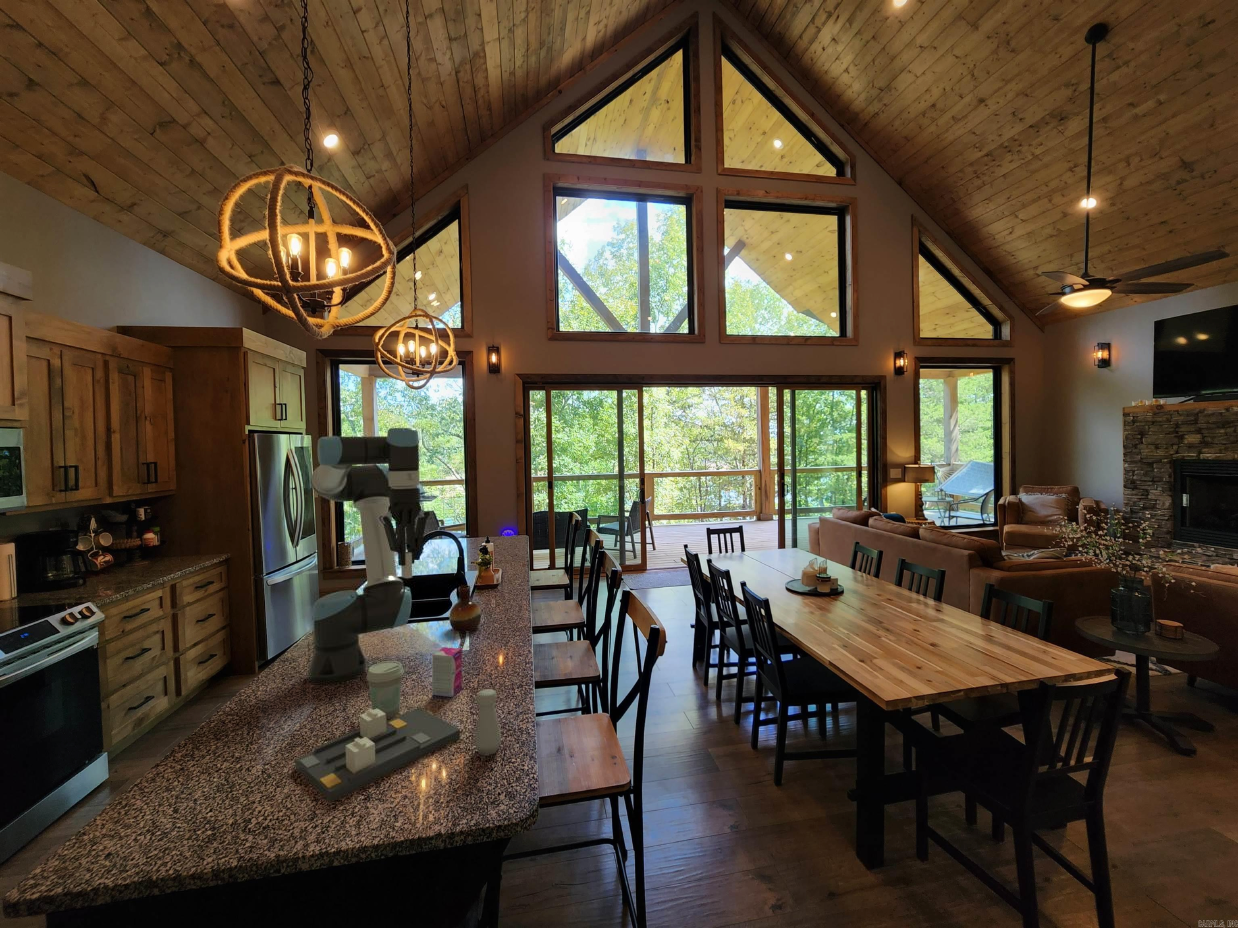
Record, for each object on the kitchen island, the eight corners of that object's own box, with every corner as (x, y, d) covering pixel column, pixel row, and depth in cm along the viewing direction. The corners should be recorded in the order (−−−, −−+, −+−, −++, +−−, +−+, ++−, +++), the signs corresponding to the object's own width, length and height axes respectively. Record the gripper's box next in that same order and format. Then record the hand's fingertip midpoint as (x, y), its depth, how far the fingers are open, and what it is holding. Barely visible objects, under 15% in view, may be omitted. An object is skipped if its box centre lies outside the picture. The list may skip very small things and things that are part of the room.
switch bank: (295, 768, 111) (295, 755, 111) (420, 714, 132) (419, 703, 132) (330, 802, 100) (330, 787, 100) (460, 738, 122) (459, 725, 121)
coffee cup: (368, 726, 127) (366, 676, 127) (366, 710, 135) (365, 664, 134) (406, 717, 131) (405, 669, 131) (403, 702, 139) (401, 657, 138)
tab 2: (346, 767, 108) (345, 741, 107) (366, 758, 111) (365, 733, 110) (355, 774, 105) (354, 748, 105) (375, 765, 108) (374, 739, 108)
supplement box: (452, 698, 141) (451, 656, 140) (432, 697, 142) (430, 654, 141) (463, 689, 146) (462, 647, 146) (443, 687, 147) (442, 646, 147)
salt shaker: (477, 743, 119) (475, 686, 119) (503, 741, 120) (501, 684, 119) (472, 758, 113) (470, 698, 113) (499, 757, 114) (498, 697, 113)
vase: (476, 633, 189) (475, 590, 189) (445, 634, 189) (444, 591, 189) (484, 623, 200) (483, 582, 200) (455, 623, 201) (454, 583, 200)
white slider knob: (360, 734, 120) (359, 712, 119) (377, 727, 123) (377, 705, 122) (368, 740, 117) (368, 717, 117) (386, 733, 120) (385, 710, 120)
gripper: (387, 489, 132) (390, 584, 133) (434, 486, 142) (437, 574, 143) (372, 488, 136) (375, 579, 137) (419, 485, 147) (422, 570, 147)
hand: (406, 576), depth 140 cm, fingers closed
